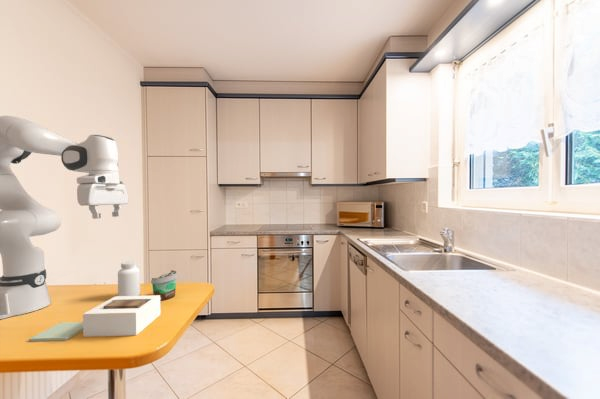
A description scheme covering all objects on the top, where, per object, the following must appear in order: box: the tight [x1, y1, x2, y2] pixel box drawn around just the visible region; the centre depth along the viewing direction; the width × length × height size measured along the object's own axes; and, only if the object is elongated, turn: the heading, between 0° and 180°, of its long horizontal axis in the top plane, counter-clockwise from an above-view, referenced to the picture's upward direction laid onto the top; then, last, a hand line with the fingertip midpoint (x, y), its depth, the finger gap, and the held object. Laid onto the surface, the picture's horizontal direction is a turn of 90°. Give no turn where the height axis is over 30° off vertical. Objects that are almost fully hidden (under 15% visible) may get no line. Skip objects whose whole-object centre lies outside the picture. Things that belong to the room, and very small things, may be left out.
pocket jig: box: [82, 294, 162, 337], centre depth 85 cm, size 16×14×7 cm
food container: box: [150, 270, 179, 302], centre depth 108 cm, size 12×6×10 cm, turn 168°
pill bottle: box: [117, 260, 141, 296], centre depth 110 cm, size 8×8×15 cm
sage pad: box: [28, 321, 83, 342], centre depth 81 cm, size 11×10×1 cm
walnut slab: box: [104, 300, 145, 309], centre depth 85 cm, size 11×4×3 cm, turn 91°
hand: (106, 217), depth 93 cm, fingers open, 8 cm apart
